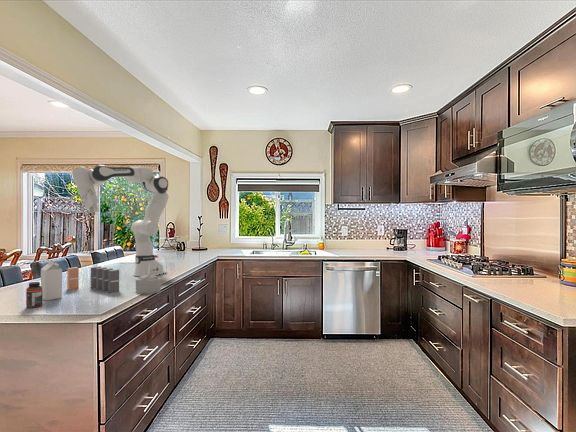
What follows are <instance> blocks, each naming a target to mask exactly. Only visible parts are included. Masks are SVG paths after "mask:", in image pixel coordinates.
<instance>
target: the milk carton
mask: <svg viewBox="0 0 576 432" xmlns="http://www.w3.org/2000/svg"><path fill="white" fill-rule="evenodd" d="M40 286H41V287H42V301H45V302H46V301H53V300H57V299H62V298H63V268H61V267H60V264H58V263H57V262H55V261H53V260H48V262H47V264H45V265H44V266H43V267H41V268H40Z"/></svg>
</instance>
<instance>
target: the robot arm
mask: <svg viewBox="0 0 576 432" xmlns="http://www.w3.org/2000/svg"><path fill="white" fill-rule="evenodd" d="M71 175H72V179H73V181H74V184H75V185H76V188H77V191H78V194H79V195H78V196H79V199H80V200H81V201H82V205H83V206H84V207H85V210H86V211H89V212H90V214H91V216H96V213H98V212H99V211H100V210H99V206H98V204H99V197H98V196H97V192H96V190H95V187H100V186H102V185H104V184H105V183H106V182H107V181H108V180H109V179H111V178H124V179H125V181H126V182H127V183H131V184H132V183H134V184H135V183H142V185H143V188H144V189H145V191H148V192H150V193H152V197H151V199H150V201H149V202H148V204H147V206H146V208H145V210H144V213H145V214H144V218H143V219H139V220H135V221H134V222H133V223H132V224H131V226H130V228H131V232H132V234H133V236H134V241H135V255H134V258H135V259H134V261H135V265H134V266H135V267H134V271H133V272H134V273H133V276H134V277H141V276H145V275H147V276H149V277H150V276H151V275H155V276H159V274H160V275H164V274H167V273H168V272H167V271H166V270H164V265H163V264H162V263H160V262H159V261H158V260H157V259H158V258H159V256H158V254H154V243H153V242H152V239H151V237H152V236H155V235H156V234H158V232H159V230H160V226H159V222H160V219H161V215H162V213H163V211H164V210H165V208H166V206H167V203H168V200H169V194H168V193H167V191H168V188H169V179H168V178H166V177H165V176H162V175H158V176H155V175H154V172H153V169H152V168H151V167H149V166H141V165H139V166H108V165H106V164H105V165H104V164H97V165H96V166H95V167H94V168H92V169H90V168H88V167H85V166H79V167H76V168H74V169H73V170H72V172H71ZM163 273H164V274H163Z"/></svg>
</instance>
